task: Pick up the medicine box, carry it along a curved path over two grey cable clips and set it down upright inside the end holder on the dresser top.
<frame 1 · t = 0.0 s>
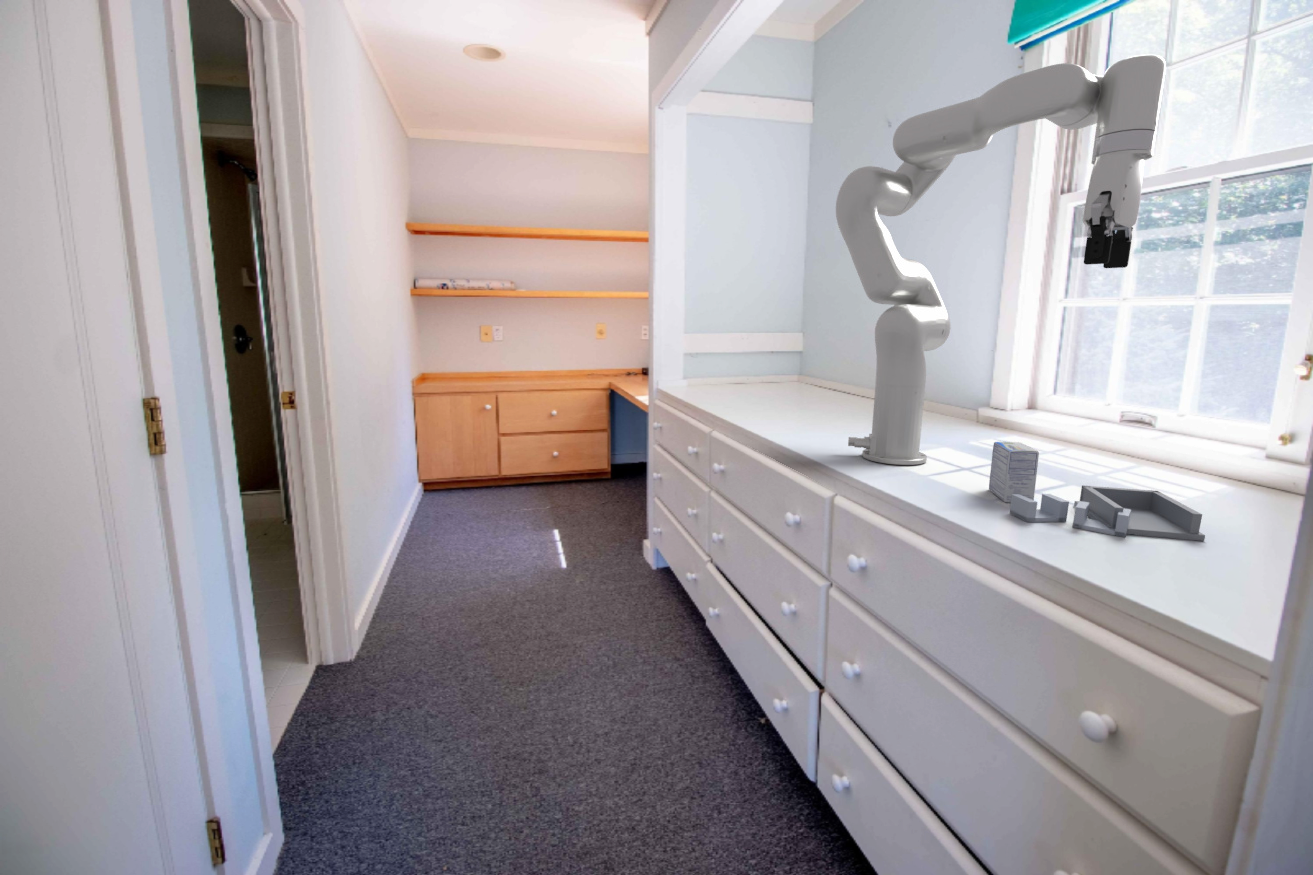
hand: (1105, 265, 97), 37 cm above the counter, tool pointing down, fingers open, 9 cm apart
end holder: (1133, 521, 90), on the counter
medicine box: (1009, 498, 102), on the counter
clip 1: (1037, 517, 91), on the counter
clip 2: (1100, 528, 86), on the counter
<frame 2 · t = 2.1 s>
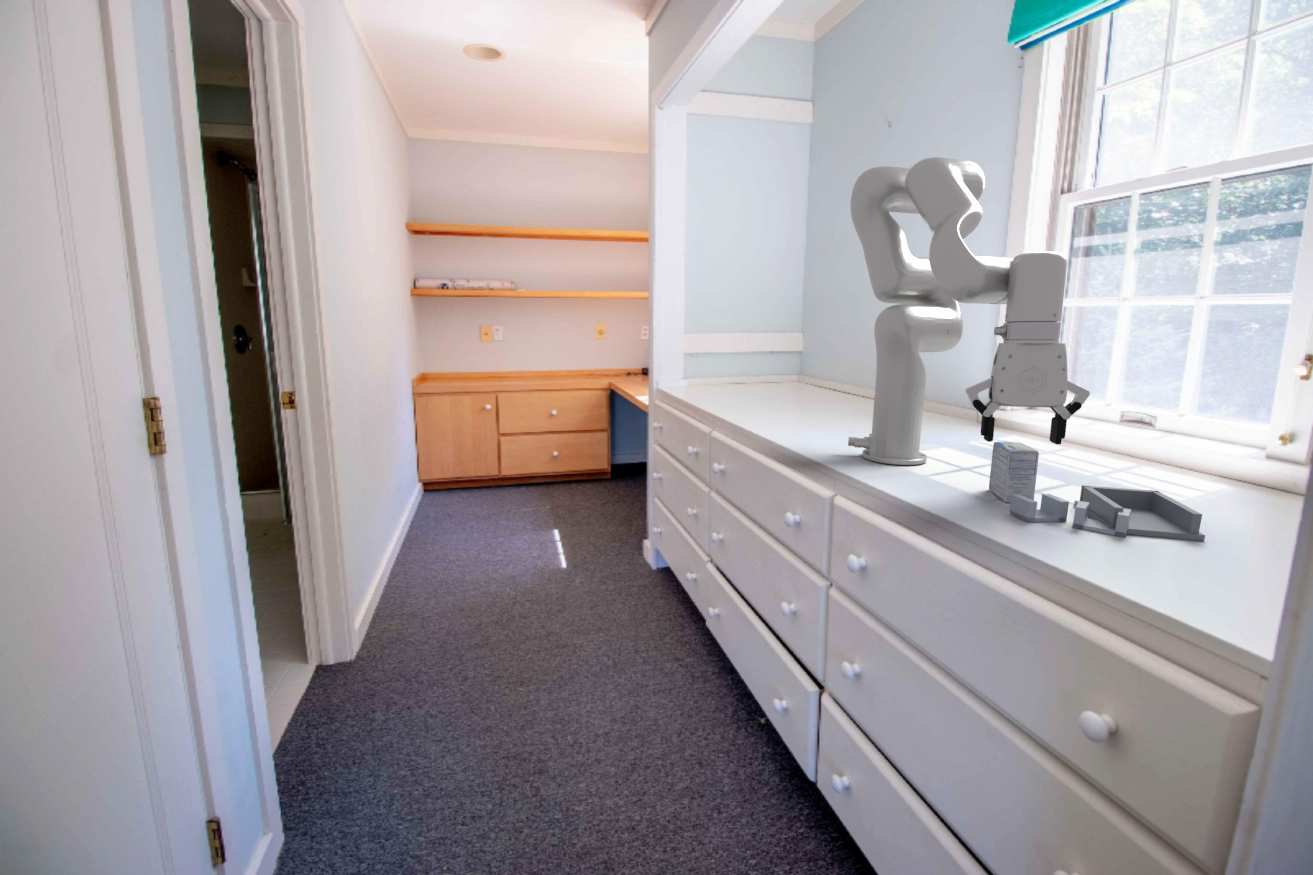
hand: (1021, 441, 99), 9 cm above the counter, tool pointing down, fingers open, 9 cm apart
nothing on the counter moved.
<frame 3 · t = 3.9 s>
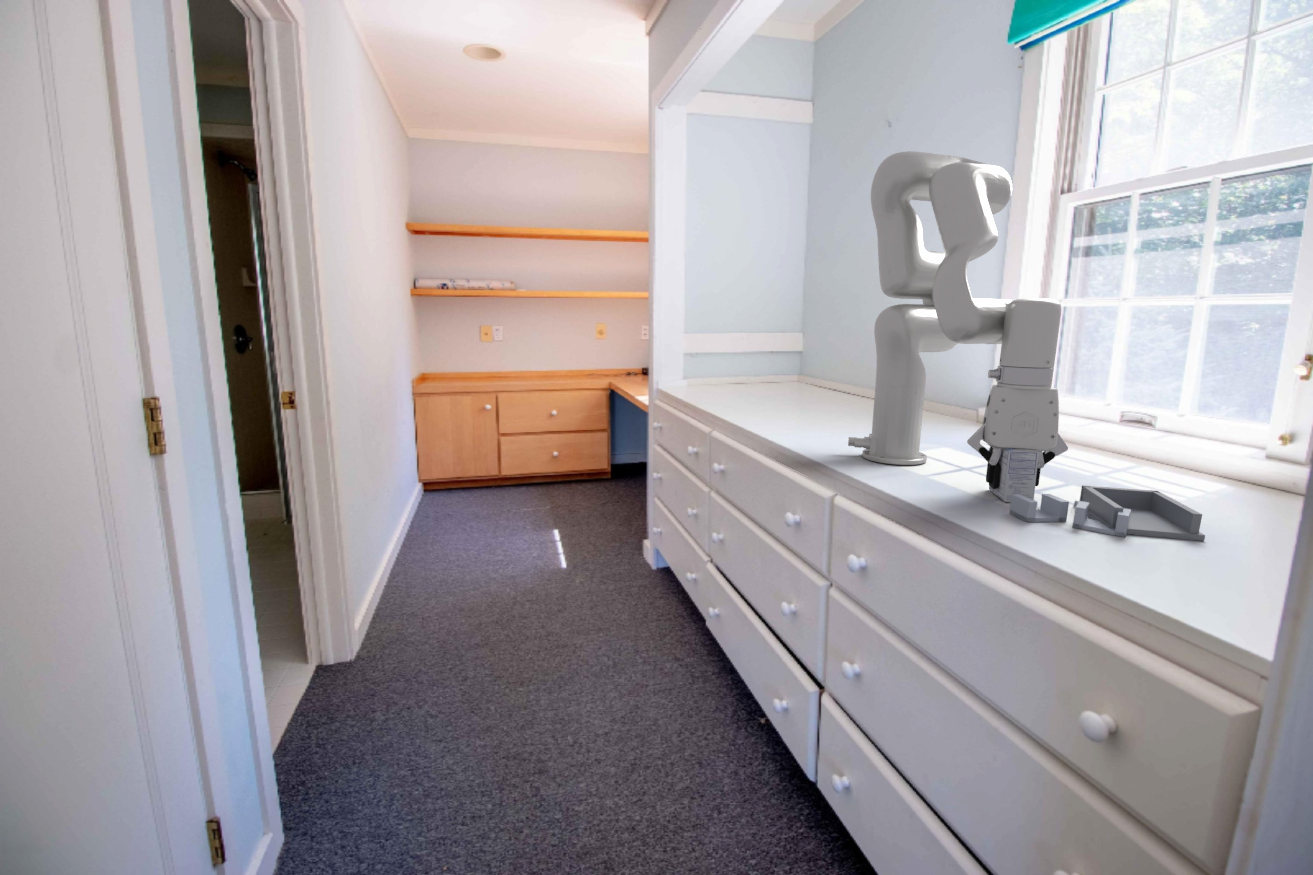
hand: (1011, 487, 101), 2 cm above the counter, tool pointing down, fingers closed on medicine box, 4 cm apart
medicine box: (1009, 498, 102), on the counter, touching gripper
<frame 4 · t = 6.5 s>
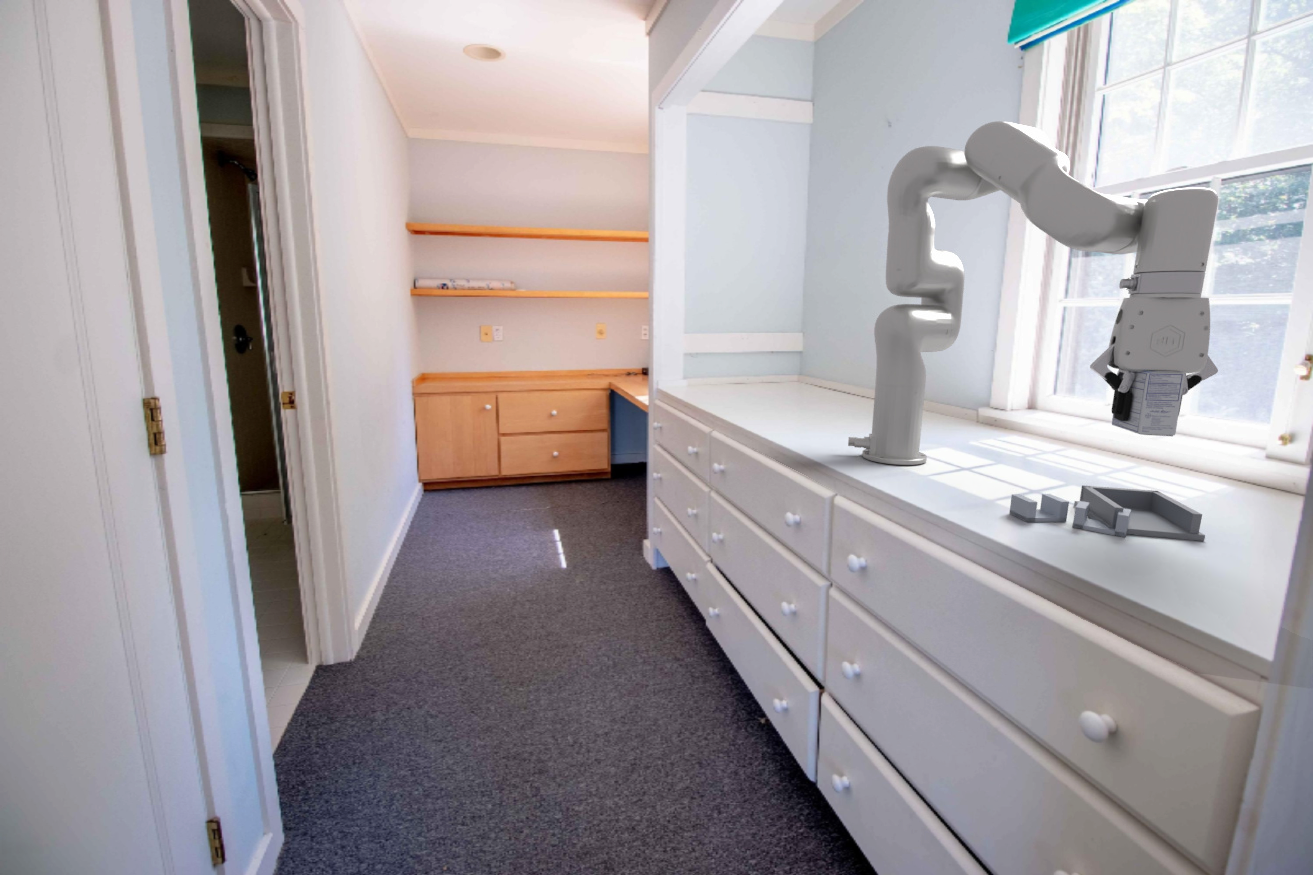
hand: (1143, 419, 86), 15 cm above the counter, tool pointing down, fingers closed on medicine box, 4 cm apart
medicine box: (1141, 432, 87), point 13 cm above the counter, touching gripper
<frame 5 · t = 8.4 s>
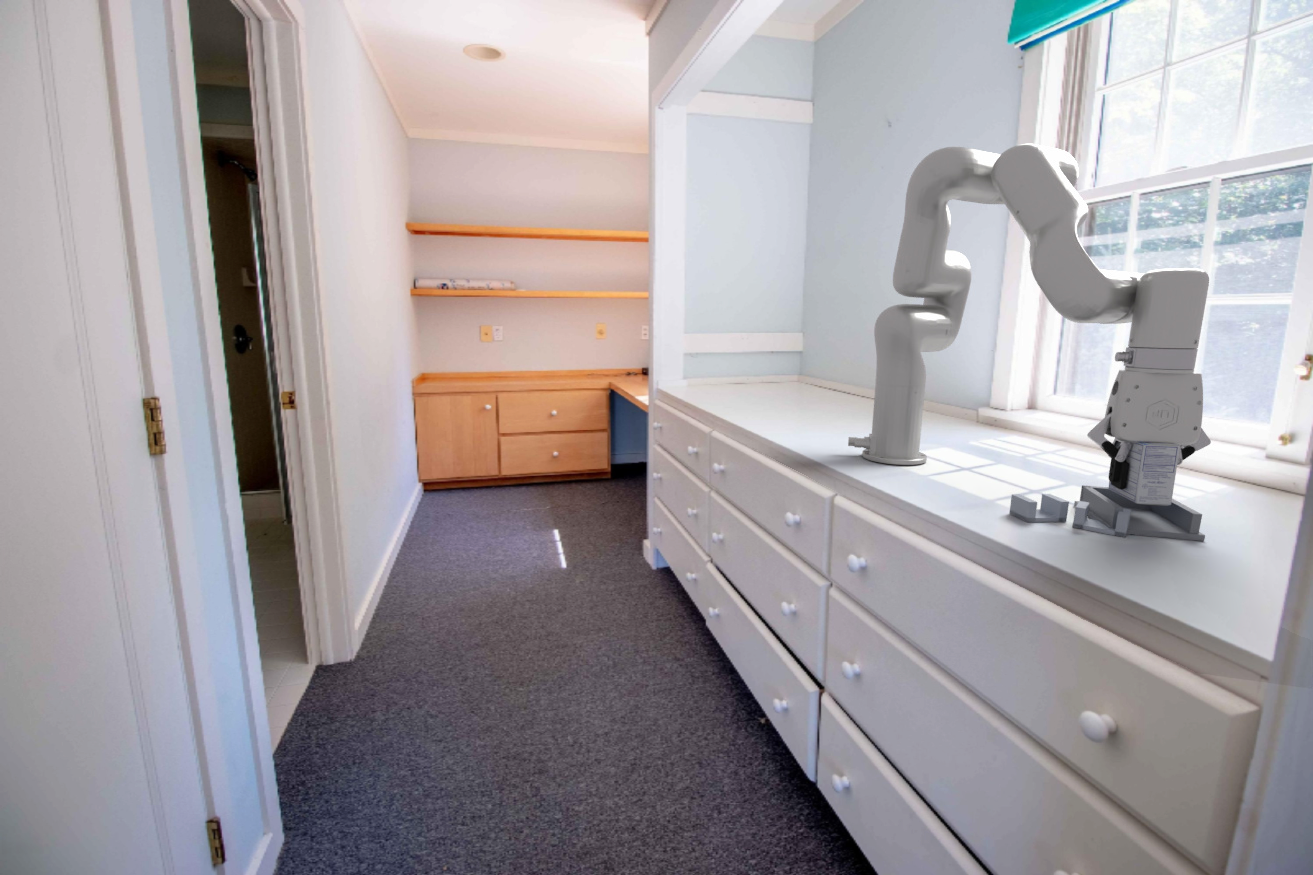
hand: (1139, 487, 89), 5 cm above the counter, tool pointing down, fingers closed on medicine box, 4 cm apart
medicine box: (1137, 499, 89), point 3 cm above the counter, touching gripper
when the fingers open (4 cm above the counter, at t = 9.5 s): medicine box drops 1 cm, resting on end holder.
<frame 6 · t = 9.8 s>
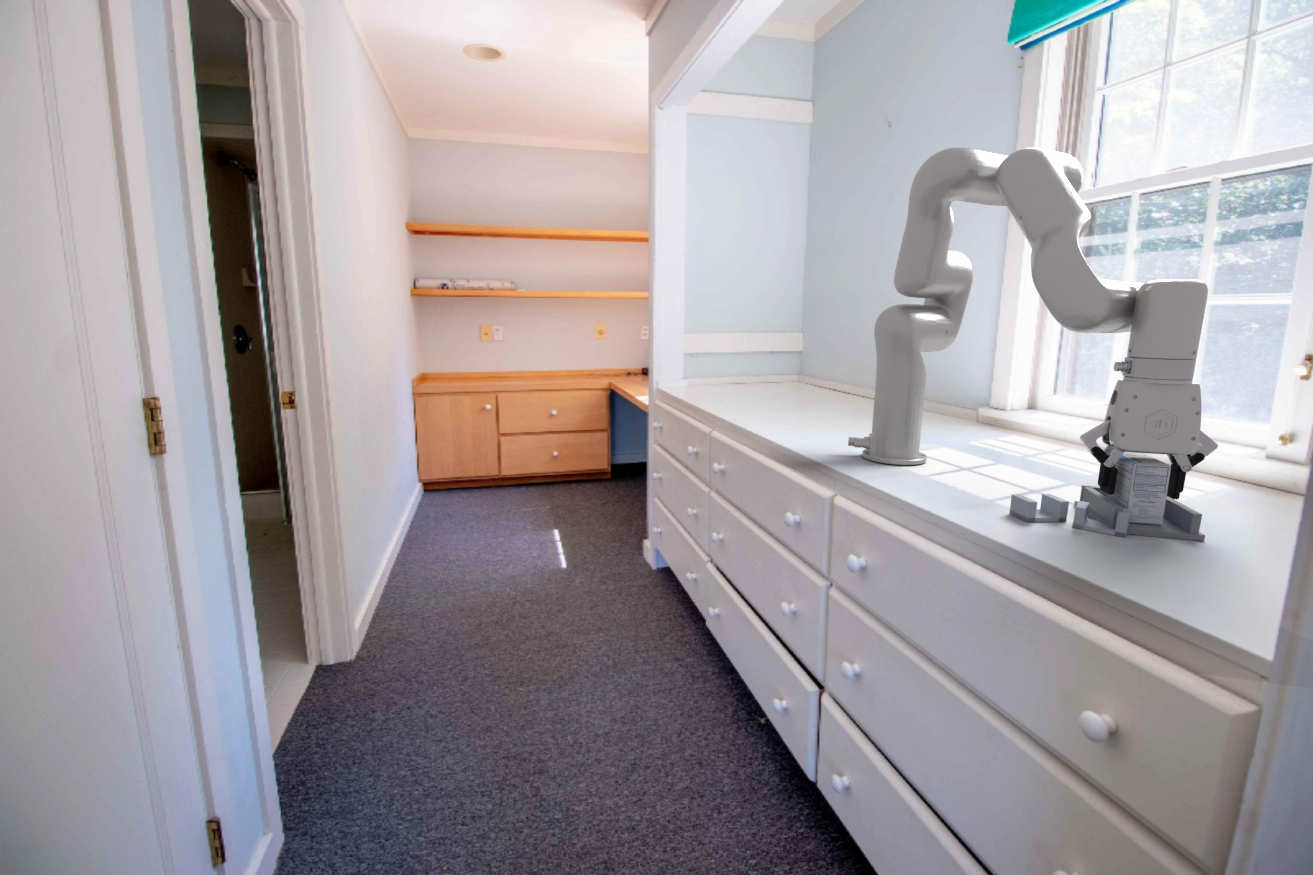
hand: (1138, 493, 89), 4 cm above the counter, tool pointing down, fingers open, 7 cm apart
medicine box: (1131, 517, 90), point 1 cm above the counter, touching end holder
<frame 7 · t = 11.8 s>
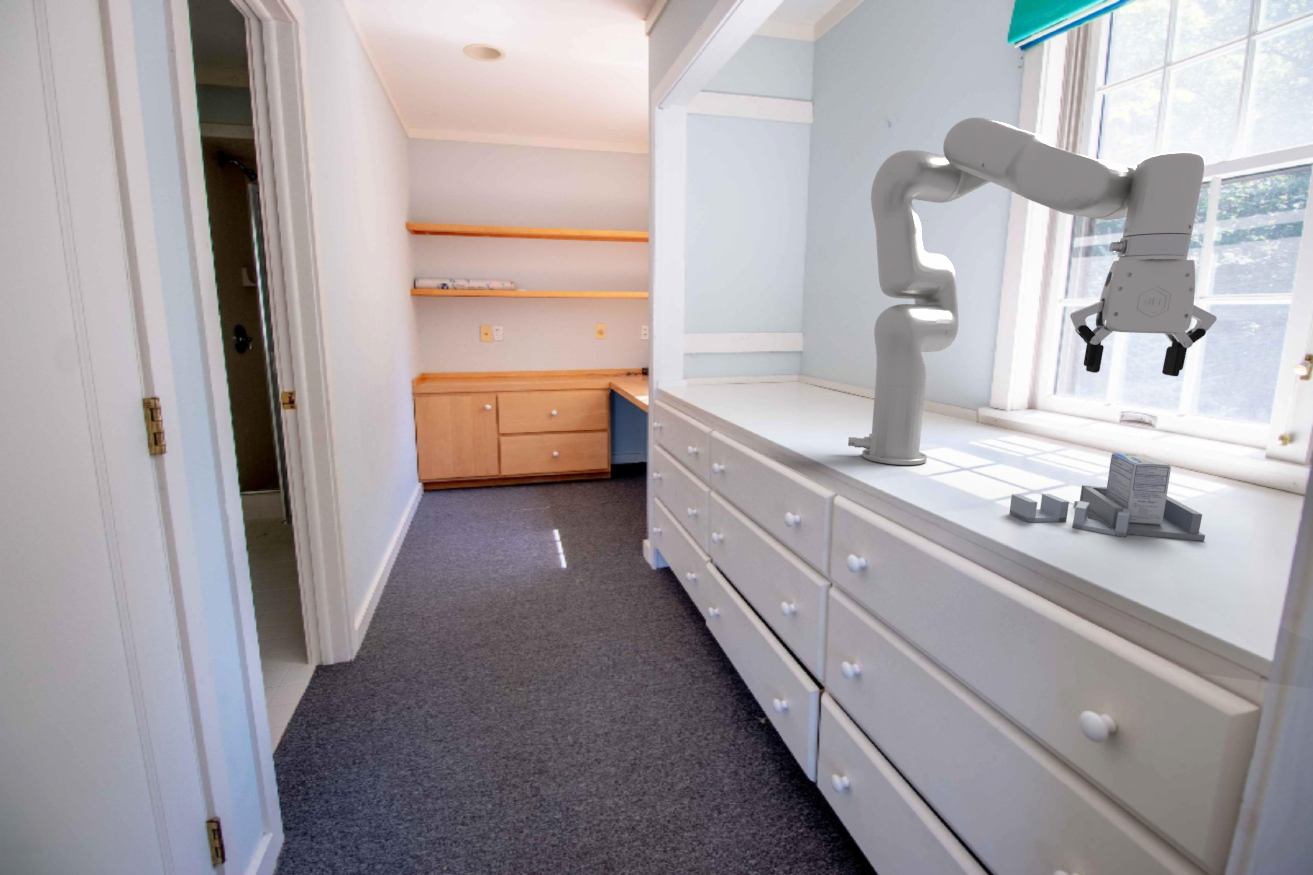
hand: (1130, 373, 89), 21 cm above the counter, tool pointing down, fingers open, 9 cm apart
nothing on the counter moved.
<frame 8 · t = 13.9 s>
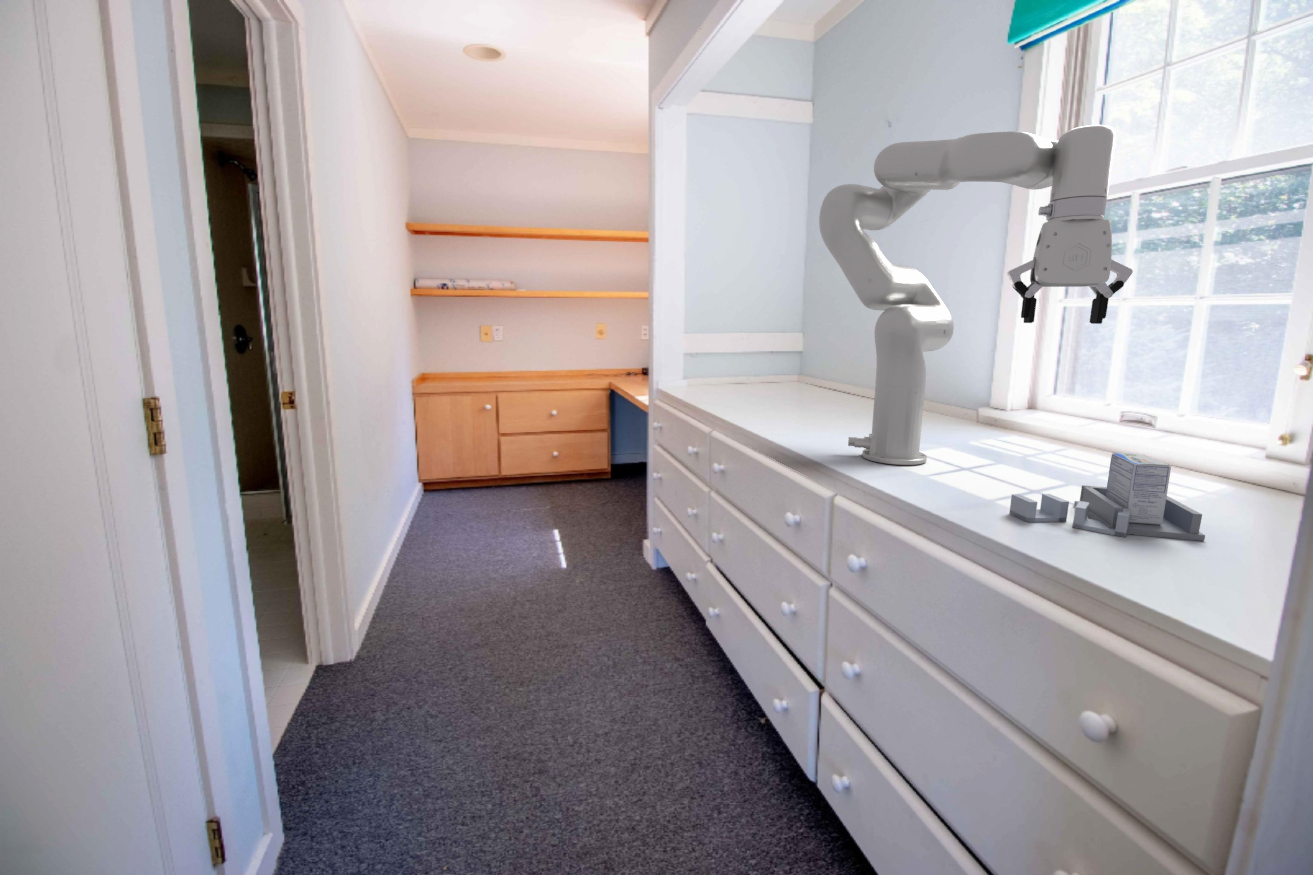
hand: (1061, 323, 101), 28 cm above the counter, tool pointing down, fingers open, 9 cm apart
nothing on the counter moved.
at the end: medicine box inside the target area on the end holder (0.4 cm from its centre), point 0.6 cm above the end holder's base; medicine box tilted 0°; the gripper is holding nothing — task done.
